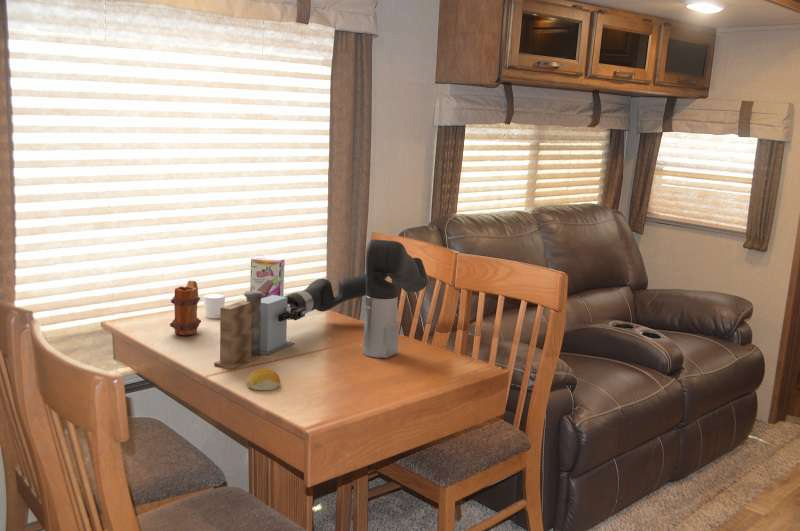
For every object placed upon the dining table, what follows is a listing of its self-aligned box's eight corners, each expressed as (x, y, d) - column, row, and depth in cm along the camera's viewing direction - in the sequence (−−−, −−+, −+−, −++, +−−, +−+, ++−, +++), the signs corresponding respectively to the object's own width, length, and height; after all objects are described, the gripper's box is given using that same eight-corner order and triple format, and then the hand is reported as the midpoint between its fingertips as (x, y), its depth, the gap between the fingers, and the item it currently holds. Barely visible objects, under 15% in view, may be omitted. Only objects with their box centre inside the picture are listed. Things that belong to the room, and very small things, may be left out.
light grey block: (286, 343, 222) (287, 297, 220) (267, 351, 213) (268, 303, 211) (271, 340, 224) (272, 294, 222) (252, 348, 215) (253, 301, 213)
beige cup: (229, 316, 250) (229, 295, 249) (214, 320, 245) (214, 299, 243) (214, 312, 254) (214, 292, 253) (199, 316, 248) (199, 295, 247)
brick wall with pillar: (249, 350, 215) (250, 289, 211) (267, 354, 212) (268, 292, 209) (214, 365, 200) (214, 300, 197) (232, 369, 198) (233, 303, 194)
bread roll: (278, 379, 193) (278, 364, 192) (281, 391, 184) (281, 375, 184) (245, 380, 191) (245, 365, 190) (247, 392, 182) (247, 377, 182)
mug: (194, 338, 223) (194, 289, 220) (167, 337, 223) (167, 287, 220) (207, 325, 237) (208, 279, 235) (182, 324, 237) (182, 277, 235)
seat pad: (271, 339, 227) (271, 338, 227) (294, 343, 224) (294, 342, 224) (244, 350, 214) (244, 349, 214) (267, 355, 211) (267, 354, 211)
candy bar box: (249, 303, 268) (250, 258, 265) (253, 300, 273) (254, 256, 270) (279, 306, 267) (280, 261, 264) (283, 303, 272) (284, 258, 269)
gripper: (316, 320, 228) (287, 332, 213) (276, 313, 233) (245, 324, 219) (316, 296, 227) (288, 306, 212) (276, 289, 232) (246, 299, 217)
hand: (266, 315), depth 215 cm, fingers open, 8 cm apart
